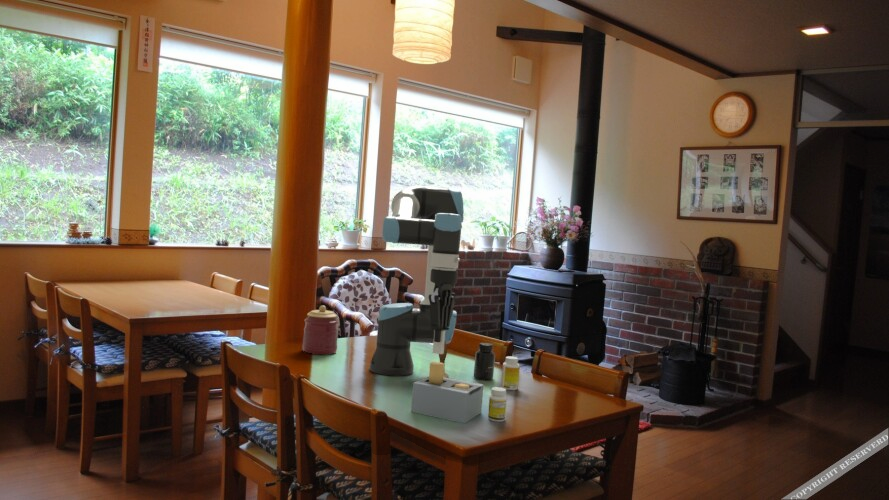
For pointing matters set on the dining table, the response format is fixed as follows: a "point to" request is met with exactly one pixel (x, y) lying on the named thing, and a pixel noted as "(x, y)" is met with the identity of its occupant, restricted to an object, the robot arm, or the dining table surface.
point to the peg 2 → (462, 386)
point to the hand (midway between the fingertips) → (438, 353)
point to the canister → (320, 332)
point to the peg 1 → (436, 372)
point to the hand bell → (442, 359)
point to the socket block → (447, 399)
